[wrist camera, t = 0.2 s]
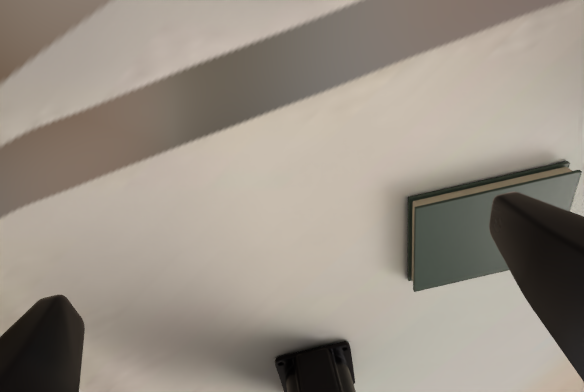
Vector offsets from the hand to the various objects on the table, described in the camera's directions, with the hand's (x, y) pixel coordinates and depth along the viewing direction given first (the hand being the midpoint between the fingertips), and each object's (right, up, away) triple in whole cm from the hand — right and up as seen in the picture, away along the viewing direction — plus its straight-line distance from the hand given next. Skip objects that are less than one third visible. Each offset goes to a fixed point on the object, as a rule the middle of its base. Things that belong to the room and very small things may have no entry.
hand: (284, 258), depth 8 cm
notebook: (+14, -1, +21) cm, 25 cm away
